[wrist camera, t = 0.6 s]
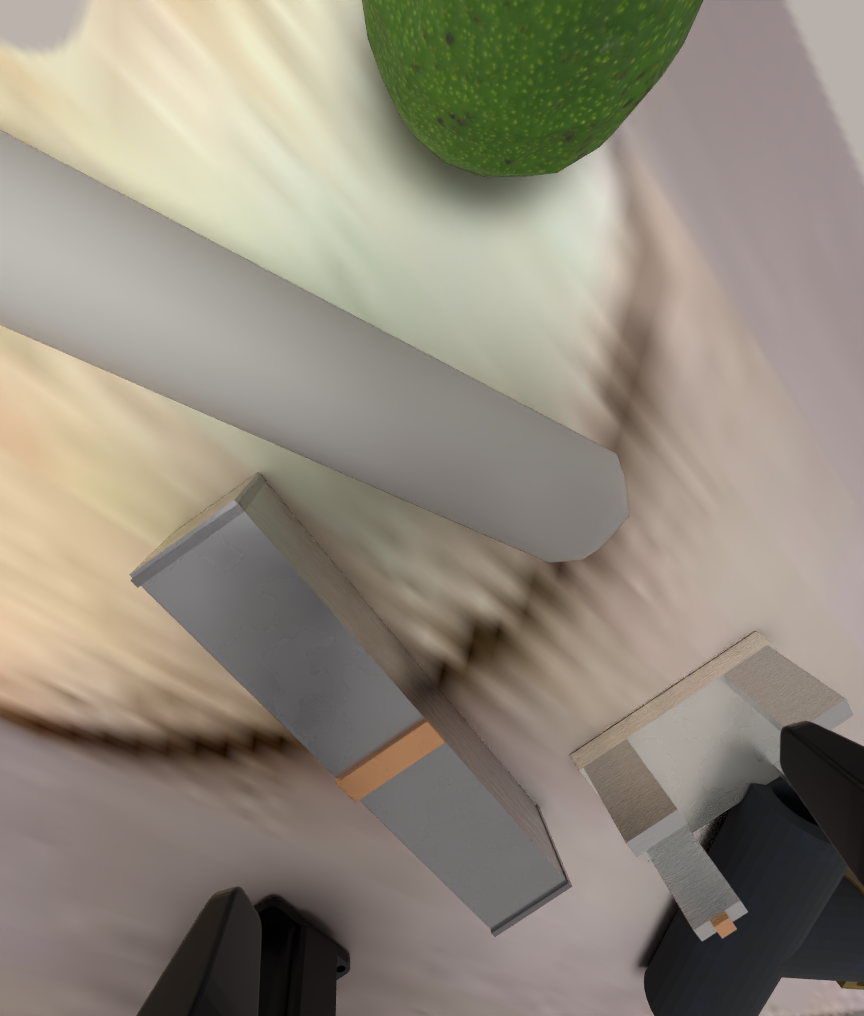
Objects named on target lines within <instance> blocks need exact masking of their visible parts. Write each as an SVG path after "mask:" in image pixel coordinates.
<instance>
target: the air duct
mask: <svg viewBox="0 0 864 1016" xmlns="http://www.w3.org/2000/svg"><path fill="white" fill-rule="evenodd" d="M130 576H131V577H132V578H133V579H132V580H131V581H132V582H133V583H134V584H135V585H136V586H137V587H139V586H142V587H143V588H144V589H145V590H146V591H147V592H148V593H149V594H150V595H151V596H152V597H153V598H154V599H155V600H156V601H157V602H158V603H159V604H160V605H161V606H162V607H163V608H164V609H165V610H166V611H167V612H168V613H169V614H170V615H171V616H172V617H173V618H174V619H175V620H176V621H177V622H178V623H179V624H180V625H181V626H182V627H183V628H184V629H185V630H186V631H187V632H189V633H190V634H191V635H192V636H193V637H194V638H195V639H196V640H197V641H198V642H199V643H200V644H201V645H202V646H203V647H204V648H205V649H206V650H207V651H208V652H209V653H210V654H211V655H212V656H213V657H214V658H215V659H216V660H217V661H218V662H219V663H220V664H221V665H222V666H223V667H224V668H225V669H226V670H227V671H228V672H229V673H230V674H231V675H232V676H233V677H234V678H235V679H236V680H237V681H238V682H239V683H240V684H241V685H242V686H244V687H245V688H246V689H247V690H248V691H249V692H250V693H251V694H252V695H253V696H254V697H255V698H256V699H257V700H258V701H259V702H260V703H261V704H262V705H263V706H264V707H265V708H266V709H267V710H268V711H269V712H270V713H271V714H272V715H273V716H274V717H275V718H276V719H277V720H278V721H279V722H280V723H281V724H282V725H283V726H284V727H285V728H286V729H287V730H288V731H289V732H290V733H291V734H292V735H293V736H294V737H295V738H296V739H298V740H299V741H300V742H301V743H302V744H303V745H304V746H305V747H306V748H307V749H308V750H309V751H310V752H311V753H312V754H313V755H314V756H315V757H316V758H317V759H318V760H319V761H320V762H321V763H322V764H323V765H324V766H325V767H326V768H327V769H328V770H329V771H330V772H331V773H332V774H333V775H334V776H335V777H336V778H337V779H336V784H337V785H338V786H339V787H340V788H341V789H342V790H343V791H344V792H345V793H346V794H347V795H348V796H349V797H350V798H351V799H352V800H353V801H354V802H355V803H356V802H357V801H359V800H360V801H361V802H362V803H363V804H364V805H365V806H366V807H367V808H368V809H369V810H370V811H371V812H372V813H373V814H374V815H375V816H376V817H377V818H378V819H379V820H380V821H381V822H382V823H383V824H384V825H385V826H386V827H387V828H388V829H389V830H390V831H391V832H392V833H393V834H394V835H395V836H396V837H397V838H398V839H399V840H400V841H401V842H402V843H403V844H404V845H405V846H406V847H408V848H409V849H410V850H411V851H412V852H413V853H414V854H415V855H416V856H417V857H418V858H419V859H420V860H421V861H422V862H423V863H424V864H425V865H426V866H427V867H428V868H429V869H430V870H431V871H432V872H433V873H434V874H435V875H436V876H437V877H438V878H439V879H440V880H441V881H442V882H443V883H444V884H445V885H446V886H447V887H448V888H449V889H450V890H451V891H452V892H453V893H454V894H455V895H456V896H457V897H458V898H459V899H460V900H462V901H463V902H464V903H465V904H466V905H467V906H468V907H469V908H470V909H471V910H472V911H473V912H474V913H475V914H476V915H477V916H478V917H479V918H480V919H481V920H482V921H483V922H484V923H485V924H486V925H487V926H488V927H489V928H490V929H491V933H492V934H493V935H494V936H495V937H496V936H497V935H499V934H500V933H502V932H503V931H505V930H506V929H508V928H509V927H511V926H513V925H514V924H516V923H517V922H519V921H520V920H522V919H523V918H525V917H526V916H528V915H529V914H531V913H532V912H534V911H535V910H537V909H539V908H540V907H542V906H543V905H545V904H546V903H548V902H549V901H551V900H552V899H554V898H555V897H557V896H558V895H560V894H562V893H563V892H565V891H566V890H568V889H569V888H571V887H572V885H571V883H570V880H569V878H568V875H567V873H566V871H565V868H564V866H563V863H562V861H561V859H560V856H559V854H558V851H557V849H556V847H555V844H554V842H553V839H552V837H551V835H550V832H549V830H548V827H547V825H546V822H545V820H544V818H543V815H542V813H541V810H540V808H539V807H538V806H537V804H536V805H535V803H534V802H533V801H532V800H531V799H530V797H529V796H528V795H527V794H526V793H525V791H524V790H523V789H522V788H521V787H520V786H519V784H518V783H517V782H516V781H515V780H514V778H513V777H512V776H511V775H510V774H509V772H508V771H507V770H506V769H505V768H504V766H503V765H502V764H501V763H500V762H499V760H498V759H497V758H496V757H495V756H494V754H493V753H492V752H491V751H490V750H489V748H488V747H487V746H486V745H485V744H484V742H483V741H482V740H481V739H480V738H479V736H478V735H477V734H476V733H475V732H474V730H473V729H472V728H471V727H470V726H469V724H468V723H467V722H466V721H465V720H464V718H463V717H462V716H461V715H460V714H459V713H458V711H457V710H456V709H455V708H454V707H453V705H452V704H451V703H450V702H449V701H448V699H447V698H446V697H445V696H444V695H443V693H442V692H441V691H440V690H439V689H438V687H437V686H436V685H435V684H434V683H433V681H432V680H431V679H430V678H429V677H428V675H427V674H426V673H425V672H424V671H423V669H422V668H421V667H420V666H419V665H418V663H417V662H416V661H415V660H414V659H413V657H412V656H411V655H410V654H409V653H408V651H407V650H406V649H405V648H404V647H403V646H402V644H401V643H400V642H399V641H398V640H397V638H396V637H395V636H394V635H393V634H392V632H391V631H390V630H389V629H388V628H387V626H386V625H385V624H384V623H383V622H382V620H381V619H380V618H379V617H378V616H377V614H376V613H375V612H374V611H373V610H372V608H371V607H370V606H369V605H368V604H367V602H366V601H365V600H364V599H363V598H362V596H361V595H360V594H359V593H358V592H357V590H356V589H355V588H354V587H353V586H352V584H351V583H350V582H349V581H348V580H347V578H346V577H345V576H344V575H343V574H342V573H341V571H340V570H339V569H338V568H337V567H336V565H335V564H334V563H333V562H332V561H331V559H330V558H329V557H328V556H327V555H326V553H325V552H324V551H323V550H322V549H321V547H320V546H319V545H318V544H317V543H316V541H315V540H314V539H313V538H312V537H311V535H310V534H309V533H308V532H307V531H306V529H305V528H304V527H303V526H302V525H301V523H300V522H299V521H298V520H297V519H296V517H295V516H294V515H293V514H292V513H291V511H290V510H289V509H288V508H287V507H286V506H285V504H284V503H283V502H282V501H281V500H280V498H279V497H278V496H277V495H276V494H275V492H274V491H273V490H272V489H271V488H270V486H269V485H268V484H267V483H266V480H265V478H264V477H263V476H262V475H260V474H259V473H256V474H255V475H253V476H252V477H251V478H249V479H248V480H246V481H245V482H244V483H242V484H241V485H239V486H238V487H237V488H235V489H234V490H232V491H231V492H230V493H228V494H227V495H225V496H224V497H223V498H221V499H220V500H218V501H217V502H216V503H214V504H213V505H211V506H210V507H209V508H207V509H206V510H204V511H203V512H202V513H200V514H199V515H197V516H196V517H195V518H193V519H192V520H190V521H189V522H188V523H186V524H185V525H183V526H182V527H181V528H179V529H178V530H176V531H175V532H174V533H173V534H172V535H171V536H169V537H168V538H167V539H166V540H165V541H164V542H163V543H162V544H161V545H160V546H159V547H158V548H157V549H156V550H155V551H154V552H153V553H152V554H151V555H150V556H149V557H148V558H146V559H145V560H144V561H143V562H142V563H141V564H140V565H139V566H138V567H137V568H136V569H135V570H134V571H133V572H132V573H131V574H130Z"/></svg>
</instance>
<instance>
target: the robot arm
mask: <svg viewBox="0 0 864 1016" xmlns="http://www.w3.org/2000/svg"><path fill="white" fill-rule="evenodd" d="M780 765H781V768H782V771H783V773H784V775H785V777H786V778H787V780H788V781H789V783H790V784H791V785H792V787H793V788H794V790H795V791H796V793H797V794H798V796H799V797H800V798H801V800H802V801H803V803H804V804H805V806H806V807H807V808H808V810H809V811H810V813H811V814H812V816H813V817H814V819H815V820H816V821H817V823H818V824H819V826H820V827H821V829H822V830H823V831H824V833H825V834H826V836H827V837H828V839H829V840H830V842H831V843H832V844H833V846H834V847H835V849H836V850H837V852H838V853H839V854H840V856H841V857H842V859H843V860H844V862H845V863H846V864H847V866H848V867H849V868H850V870H851V871H852V873H853V874H854V875H855V877H856V878H857V879H858V881H859V882H860V883H861V884H862V886H863V887H864V746H862V745H860V744H858V743H856V742H854V741H851V740H849V739H847V738H845V737H843V736H841V735H839V734H837V733H835V732H832V731H830V730H828V729H826V728H824V727H822V726H820V725H818V724H816V723H813V722H810V721H800V722H796V723H793V724H789V725H786V726H784V727H783V728H782V729H781V732H780ZM349 970H350V957H349V955H348V954H346V953H345V952H344V951H343V950H341V949H340V948H339V947H338V946H336V945H335V944H334V943H333V942H331V941H330V940H329V939H328V938H327V937H325V936H324V935H323V934H322V933H320V932H319V931H318V930H317V929H315V928H314V927H313V926H312V925H311V924H309V923H308V922H307V921H306V920H304V919H303V918H302V917H301V916H299V915H298V914H297V913H296V912H294V911H293V910H292V909H291V908H290V907H288V906H287V905H286V904H285V903H283V902H282V901H281V900H279V899H276V898H271V899H268V900H266V901H264V902H263V903H261V904H260V905H258V906H257V907H255V908H254V907H253V905H252V903H251V902H250V900H249V898H248V897H247V895H246V894H245V892H244V890H243V889H242V888H240V887H233V888H230V889H226V890H223V891H219V892H217V893H215V894H214V895H213V896H212V897H211V898H210V899H209V900H208V902H207V903H206V905H205V907H204V908H203V910H202V911H201V913H200V915H199V916H198V918H197V919H196V921H195V923H194V924H193V926H192V927H191V929H190V931H189V932H188V934H187V935H186V937H185V939H184V940H183V942H182V943H181V945H180V947H179V948H178V950H177V951H176V953H175V955H174V956H173V958H172V959H171V961H170V963H169V964H168V966H167V967H166V969H165V971H164V972H163V974H162V975H161V977H160V979H159V980H158V982H157V983H156V985H155V987H154V988H153V990H152V991H151V993H150V995H149V996H148V998H147V999H146V1001H145V1003H144V1004H143V1006H142V1007H141V1009H140V1011H139V1012H138V1014H137V1015H136V1016H335V1014H336V980H338V979H339V978H341V977H342V976H344V975H345V974H347V973H348V972H349Z"/></svg>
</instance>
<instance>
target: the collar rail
mask: <svg viewBox="0 0 864 1016" xmlns="http://www.w3.org/2000/svg"><path fill="white" fill-rule="evenodd" d="M851 716H853V713H852V711H851V709H850V706H849V704H848V702H847V700H846V699H845V698H844V697H843V696H841V695H840V694H838V693H837V692H835V691H834V690H832V689H831V688H829V687H828V686H826V685H825V684H824V683H822V682H821V681H819V680H818V679H816V678H815V677H813V676H812V675H810V674H809V673H808V672H806V671H805V670H803V669H802V668H800V667H799V666H797V665H796V664H794V663H793V662H792V661H790V660H789V659H787V658H786V657H784V656H783V655H781V654H780V653H778V652H777V651H776V649H775V647H774V645H773V643H772V642H771V641H770V640H768V639H767V638H765V637H764V636H762V635H761V634H759V633H758V632H756V631H755V632H754V633H752V634H751V635H749V636H748V637H746V638H745V639H743V640H742V641H740V642H739V643H737V644H736V645H734V646H733V647H731V648H730V649H728V650H727V651H725V652H724V653H722V654H721V655H719V656H718V657H716V658H715V659H713V660H712V661H710V662H709V663H707V664H706V665H704V666H703V667H701V668H700V669H698V670H697V671H695V672H694V673H692V674H691V675H689V676H688V677H686V678H685V679H683V680H682V681H680V682H679V683H677V684H676V685H674V686H673V687H671V688H670V689H668V690H667V691H665V692H664V693H662V694H661V695H659V696H658V697H656V698H655V699H653V700H652V701H650V702H649V703H647V704H646V705H644V706H643V707H641V708H640V709H638V710H637V711H635V712H634V713H632V714H631V715H629V716H628V717H626V718H625V719H623V720H622V721H620V722H619V723H617V724H616V725H614V726H613V727H611V728H610V729H608V730H607V731H605V732H604V733H602V734H601V735H599V736H598V737H596V738H595V739H593V740H592V741H590V742H589V743H587V744H586V745H584V746H583V747H581V748H580V749H578V750H577V751H575V752H574V753H572V754H571V757H572V758H573V760H574V762H575V764H576V766H577V768H578V769H579V771H580V772H581V774H582V775H583V776H584V777H585V779H586V780H587V781H588V783H589V784H590V785H591V787H592V788H593V789H594V791H595V792H596V793H597V795H598V796H599V797H600V798H601V800H602V801H603V803H604V805H605V807H606V808H607V810H608V812H609V814H610V815H611V817H612V819H613V821H614V823H615V824H616V826H617V828H618V830H619V831H620V833H621V835H622V837H623V838H624V840H625V842H626V844H627V845H628V846H629V847H630V849H631V850H632V851H633V853H634V854H635V855H636V857H637V856H638V855H640V854H643V855H644V856H645V858H646V859H647V860H648V862H649V861H650V860H652V862H653V864H654V865H655V867H656V869H657V870H658V872H659V874H660V875H661V877H662V879H663V880H664V882H665V884H666V885H667V887H668V889H669V890H670V892H671V894H672V895H673V897H674V899H675V900H676V902H677V904H678V905H679V907H680V909H681V910H682V912H683V914H684V915H685V917H686V919H687V920H688V922H689V924H690V925H691V927H692V929H693V930H694V932H695V933H696V934H697V936H698V937H699V938H700V940H701V941H704V940H705V939H707V938H708V937H710V936H712V935H713V934H715V933H716V932H718V934H719V935H720V936H721V938H722V939H723V938H724V937H726V936H727V935H729V934H730V933H732V932H734V931H735V930H737V928H736V926H735V925H734V923H733V921H735V920H736V919H738V918H740V917H741V916H743V915H744V914H746V913H747V912H748V911H747V909H746V908H745V906H744V905H743V904H742V902H741V901H740V899H739V898H738V896H737V895H736V894H735V892H734V891H733V889H732V888H731V887H730V885H729V884H728V882H727V881H726V880H725V878H724V877H723V876H722V874H721V873H720V871H719V870H718V869H717V867H716V866H715V864H714V863H713V862H712V860H711V859H710V857H709V856H708V855H707V853H706V852H705V850H704V849H703V848H702V846H701V845H700V843H699V842H698V841H697V839H696V838H695V836H694V835H693V834H692V833H693V832H695V831H696V830H698V829H699V828H701V827H702V826H704V825H705V824H707V823H708V822H710V821H712V820H713V819H715V818H716V817H718V816H719V815H721V814H722V813H724V812H725V811H727V810H728V809H730V808H731V807H733V806H735V805H736V804H738V803H739V802H741V801H742V800H743V799H744V797H745V795H746V793H747V791H748V789H749V788H750V786H751V784H752V783H757V784H764V785H767V784H768V783H770V782H771V781H773V780H774V779H776V778H777V777H779V776H780V777H781V778H782V779H783V780H784V781H785V782H786V783H787V784H788V785H789V786H790V787H791V788H793V787H792V785H791V784H790V783H789V781H788V780H787V778H786V777H785V775H784V773H783V771H782V768H781V765H780V732H781V729H782V728H783V727H784V726H786V725H789V724H793V723H796V722H800V721H810V722H813V723H816V724H818V725H820V726H822V727H824V728H826V729H828V730H831V729H833V728H834V727H836V726H838V725H839V724H841V723H842V722H844V721H845V720H847V719H848V718H850V717H851ZM793 789H794V788H793Z"/></svg>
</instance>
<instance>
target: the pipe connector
mask: <svg viewBox="0 0 864 1016" xmlns="http://www.w3.org/2000/svg"><path fill="white" fill-rule="evenodd" d="M707 855H708V856H709V857H710V859H711V860H712V862H713V863H714V864H715V866H716V867H717V869H718V870H719V871H720V873H721V874H722V876H723V877H724V878H725V880H726V881H727V882H728V884H729V885H730V887H731V888H732V889H733V891H734V892H735V894H736V895H737V896H738V898H739V899H740V901H741V902H742V904H743V905H744V906H745V908H746V909H747V911H748V912H747V913H746V914H744V915H743V916H741V917H740V918H738V919H736V920H735V921H733V923H734V925H735V926H736V928H737V930H735V931H734V932H732V933H730V934H729V935H727V936H726V937H724V938H723V939H722V938H721V936H720V935H719V934H718V932H716V933H715V934H713V935H712V936H710V937H708V938H707V939H705V940H704V941H701V940H700V938H699V937H698V936H697V934H696V933H695V932H694V930H693V929H692V927H691V925H690V924H689V922H688V920H687V919H686V917H685V915H684V914H683V912H682V910H681V909H680V907H679V908H678V910H677V912H676V914H675V916H674V918H673V920H672V922H671V924H670V926H669V928H668V930H667V931H666V933H665V935H664V937H663V939H662V941H661V943H660V945H659V947H658V949H657V951H656V953H655V954H654V956H653V958H652V960H651V962H650V964H649V966H648V968H647V970H646V972H645V976H644V989H645V993H646V997H647V1000H648V1003H649V1006H650V1008H651V1010H652V1012H653V1014H654V1016H758V1015H759V1014H760V1012H761V1010H762V1009H763V1007H764V1005H765V1004H766V1002H767V1000H768V999H769V997H770V996H771V994H772V992H773V991H774V989H775V987H776V986H777V984H778V982H779V981H780V979H781V978H782V977H785V978H800V979H816V980H832V981H837V983H838V984H839V985H840V987H841V988H846V989H863V990H864V887H863V886H862V884H861V883H860V882H859V881H858V879H857V878H856V877H855V875H854V874H853V873H852V871H851V870H850V868H849V867H848V866H847V864H846V863H845V862H844V860H843V859H842V857H841V856H840V854H839V853H838V852H837V850H836V849H835V847H834V846H833V844H832V843H831V842H830V840H829V839H828V837H827V836H826V834H825V833H824V831H823V830H822V829H821V827H820V826H819V824H818V823H817V821H816V820H815V819H814V817H813V816H812V814H811V813H810V811H809V810H808V808H807V807H806V806H805V804H804V803H803V801H802V800H801V798H800V797H799V796H798V794H797V793H796V791H795V790H794V789H793V788H791V787H790V786H789V785H788V784H787V783H786V782H785V781H784V780H783V779H782V778H781V777H780V776H779V777H777V778H776V779H774V780H773V781H771V782H770V783H768V784H767V785H764V784H757V783H752V784H751V786H750V788H749V789H748V791H747V793H746V795H745V797H744V799H743V800H742V801H741V802H739V803H738V804H736V805H735V806H733V807H731V809H730V811H729V813H728V815H727V817H726V818H725V820H724V822H723V824H722V826H721V828H720V830H719V832H718V834H717V836H716V838H715V839H714V841H713V843H712V845H711V847H710V849H709V851H708V853H707Z"/></svg>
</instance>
